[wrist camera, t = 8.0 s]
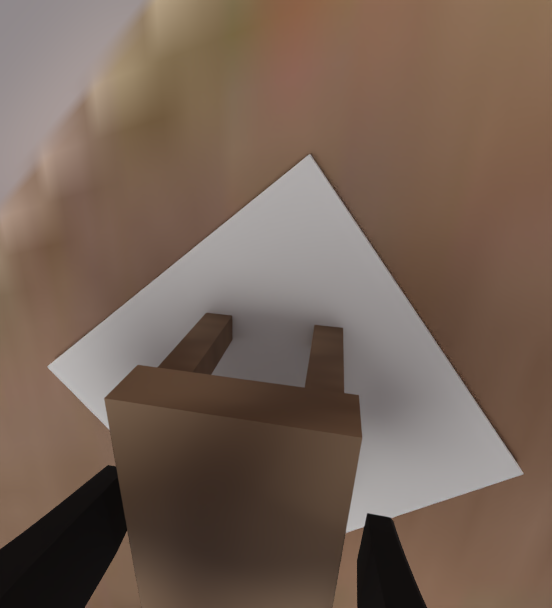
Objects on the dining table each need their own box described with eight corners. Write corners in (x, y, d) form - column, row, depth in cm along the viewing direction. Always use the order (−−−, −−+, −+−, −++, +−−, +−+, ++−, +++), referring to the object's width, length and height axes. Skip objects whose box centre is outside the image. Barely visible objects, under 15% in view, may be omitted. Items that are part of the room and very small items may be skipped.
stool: (353, 320, 12) (362, 437, 7) (327, 504, 16) (320, 673, 10) (198, 304, 13) (104, 398, 8) (206, 482, 16) (145, 629, 11)
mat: (517, 463, 14) (523, 473, 13) (247, 556, 19) (244, 566, 18) (310, 154, 11) (309, 154, 10) (55, 360, 16) (47, 366, 15)
